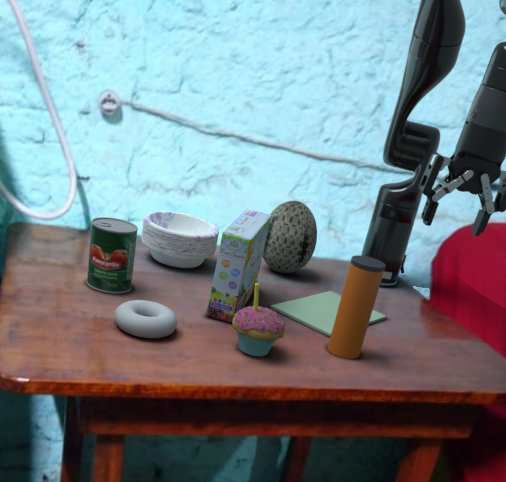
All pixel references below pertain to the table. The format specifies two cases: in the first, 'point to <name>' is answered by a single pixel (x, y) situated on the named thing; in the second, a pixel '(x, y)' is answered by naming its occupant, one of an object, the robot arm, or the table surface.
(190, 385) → the table surface
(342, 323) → the crisps tube
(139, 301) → the donut
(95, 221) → the canned tomato
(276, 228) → the decorative egg
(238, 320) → the cupcake
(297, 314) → the placemat
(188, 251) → the paper bowls
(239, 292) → the snack box
